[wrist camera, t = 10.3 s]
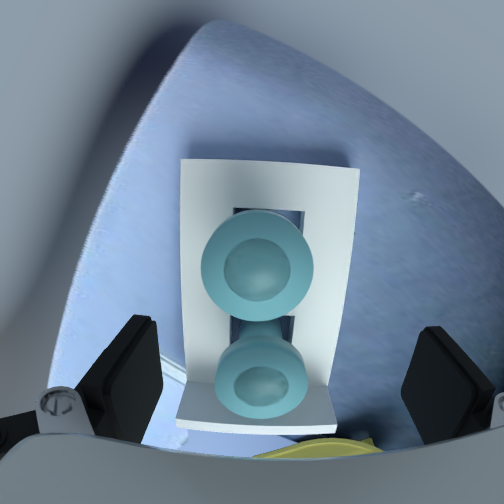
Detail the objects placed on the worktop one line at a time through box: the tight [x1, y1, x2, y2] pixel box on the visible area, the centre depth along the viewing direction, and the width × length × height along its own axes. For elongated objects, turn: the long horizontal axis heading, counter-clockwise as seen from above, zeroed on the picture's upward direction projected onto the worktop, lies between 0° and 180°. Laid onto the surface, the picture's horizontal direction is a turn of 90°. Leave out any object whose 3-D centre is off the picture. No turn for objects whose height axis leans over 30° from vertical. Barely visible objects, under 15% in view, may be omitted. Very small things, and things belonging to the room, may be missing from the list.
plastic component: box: [252, 438, 385, 458], centre depth 34 cm, size 20×7×10 cm
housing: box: [176, 159, 360, 435], centre depth 25 cm, size 14×22×8 cm, turn 177°
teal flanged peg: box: [214, 318, 308, 419], centre depth 26 cm, size 7×7×9 cm
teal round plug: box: [201, 209, 314, 321], centre depth 23 cm, size 7×7×9 cm
